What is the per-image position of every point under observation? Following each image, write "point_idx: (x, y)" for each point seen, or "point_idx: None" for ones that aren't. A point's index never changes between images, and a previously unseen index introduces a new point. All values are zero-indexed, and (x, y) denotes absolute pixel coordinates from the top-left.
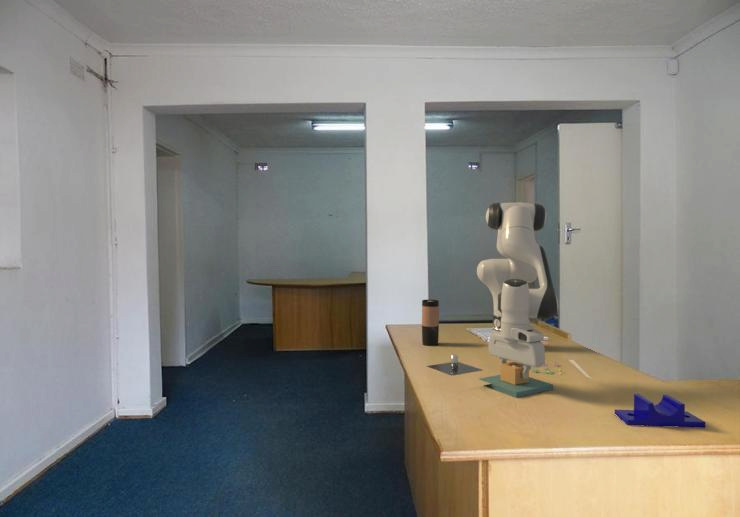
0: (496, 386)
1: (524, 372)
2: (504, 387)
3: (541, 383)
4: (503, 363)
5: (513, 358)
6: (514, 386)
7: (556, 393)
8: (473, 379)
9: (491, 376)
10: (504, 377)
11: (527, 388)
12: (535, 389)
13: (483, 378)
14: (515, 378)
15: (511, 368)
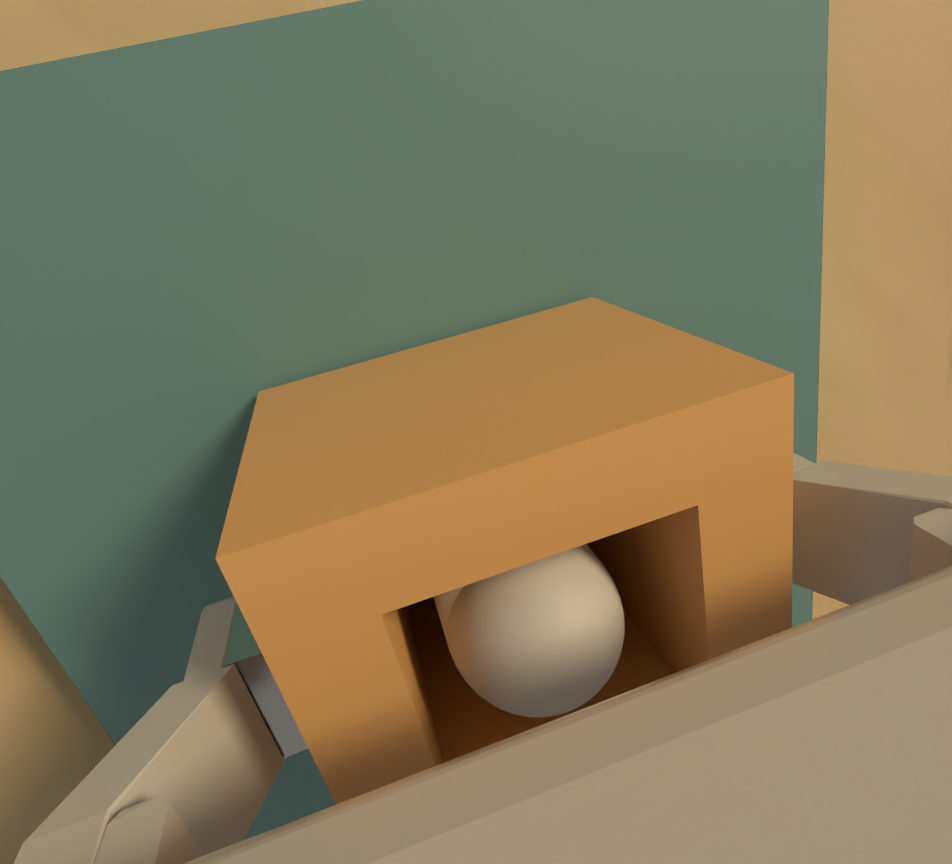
0: (329, 15)
1: (157, 704)
2: (149, 96)
3: (285, 782)
4: (859, 521)
5: (530, 841)
6: (193, 345)
7: (47, 811)
8: (943, 23)
9: (812, 270)
10: (525, 336)
11: (40, 510)
12: (45, 619)
13: (795, 47)
14: (250, 446)
15: (374, 495)
